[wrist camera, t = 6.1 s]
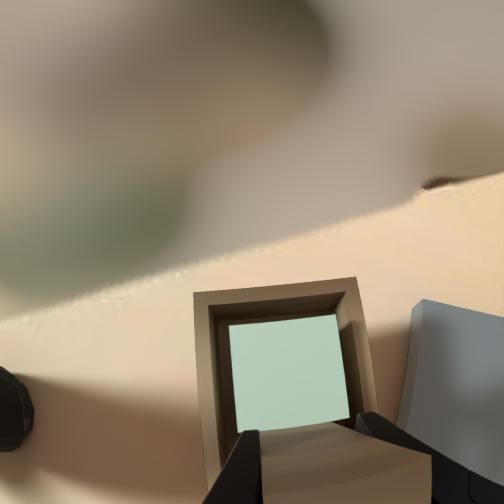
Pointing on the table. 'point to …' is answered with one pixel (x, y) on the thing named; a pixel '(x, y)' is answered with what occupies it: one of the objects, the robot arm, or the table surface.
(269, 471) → the caddy
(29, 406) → the portable speaker
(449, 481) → the robot arm
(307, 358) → the sage block
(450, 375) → the dock
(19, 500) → the table surface
